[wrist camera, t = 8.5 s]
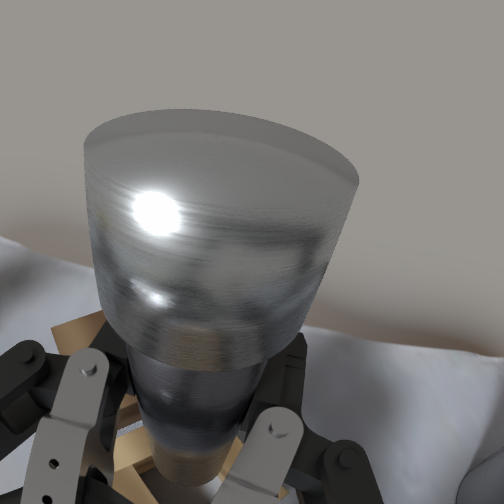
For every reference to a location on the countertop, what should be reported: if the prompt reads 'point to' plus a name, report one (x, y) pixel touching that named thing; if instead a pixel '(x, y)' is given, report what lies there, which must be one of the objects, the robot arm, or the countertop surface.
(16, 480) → the countertop surface
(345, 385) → the countertop surface
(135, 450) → the oak block
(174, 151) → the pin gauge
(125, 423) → the walnut block
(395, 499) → the countertop surface
